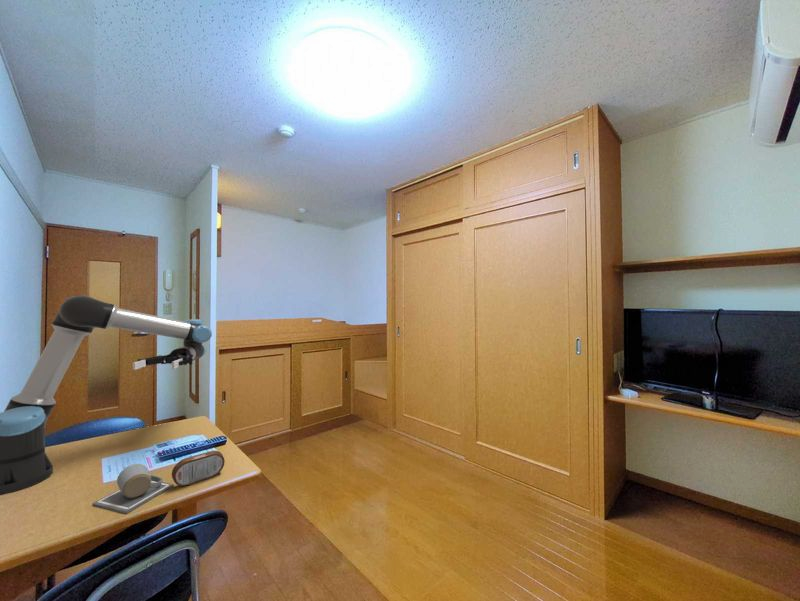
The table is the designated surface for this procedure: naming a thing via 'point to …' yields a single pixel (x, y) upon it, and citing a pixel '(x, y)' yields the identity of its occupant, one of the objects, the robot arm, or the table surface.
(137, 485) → the ceramic mug
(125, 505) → the card
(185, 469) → the tin
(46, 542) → the table surface
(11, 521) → the table surface
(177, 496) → the table surface
